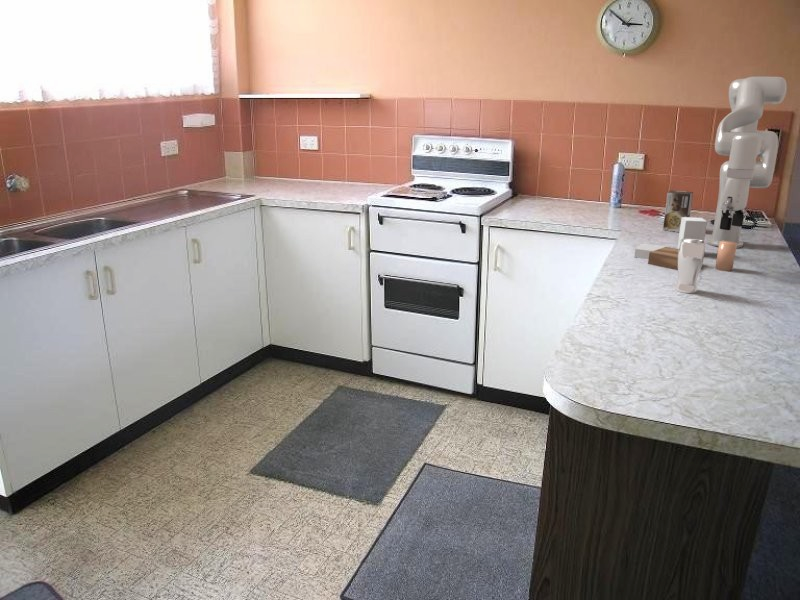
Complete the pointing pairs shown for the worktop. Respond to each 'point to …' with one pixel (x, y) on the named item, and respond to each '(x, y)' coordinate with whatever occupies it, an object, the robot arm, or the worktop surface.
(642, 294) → the worktop surface
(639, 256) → the white plinth
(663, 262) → the walnut plinth
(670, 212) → the coffee box
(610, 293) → the worktop surface
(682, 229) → the supplement box
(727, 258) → the glossy peach capsule
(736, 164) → the robot arm
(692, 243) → the beer glass
